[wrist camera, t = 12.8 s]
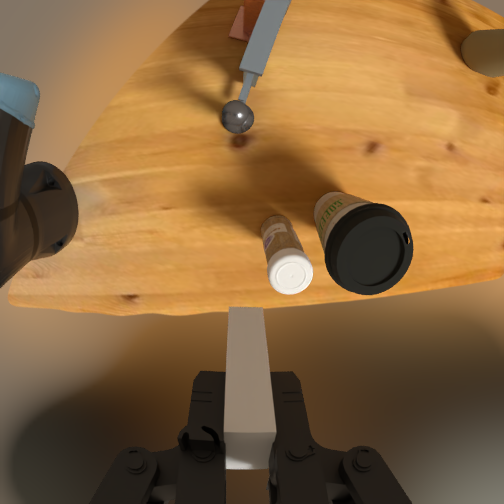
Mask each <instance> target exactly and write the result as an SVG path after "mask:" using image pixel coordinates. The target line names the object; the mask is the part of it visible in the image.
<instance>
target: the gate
mask: <svg viewBox="0 0 504 504" xmlns="http://www.w3.org/2000/svg"><path fill="white" fill-rule="evenodd" d="M290 3H291V0H265V2H264V5H263V7H262V10H261V12H260V15H259V17H258V20H257V22H256V25H255V27H254V30H253V32H252V35H251V37H250V40H249V43H248V45H247V48H246V51H245V53H244V56H243V59H242V61H241V64H240V67H239V70H240V71H244V75H243V87H242V90H241V93H240V96H239V99H238V100H241V102H243V103H245V102H246V99H247V97H248V94H249V91H250V88H251V86H253V87H255V85H256V82H257V79H258V77H259V76H261V77H262V74H263V71H264V69H265V66H266V63H267V60H268V58H269V55H270V52H271V49H272V47H273V44H274V41H275V39H276V36H277V33H278V31H279V28H280V25H281V23H282V20H283V18H284V16H285V14H286V12H287V10H288V7H289V5H290Z"/></svg>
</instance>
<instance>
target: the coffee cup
mask: <svg viewBox="0 0 504 504" xmlns="http://www.w3.org/2000/svg"><path fill="white" fill-rule="evenodd" d="M314 220H315V223H316V228H317V232H318V235H319V238H320V241H321V244H322V247H323V251H324V254H325V263H326V268H327V270H328V272H329V274H330V276H331V277H332V279H333V280H334V281H335V282H336V283H337V284H338V285H340V286H341V287H342V288H344V289H346V290H348V291H350V292H355V293H357V294H361V295H374V294H379V293H381V292H384V291H386V290H388V289H390V288H391V287H393V286H394V285H395V284H397V283H398V282H399V281H400V279H401V278H402V277H403V276H404V274H405V273H406V272H407V270H408V268H409V266H410V263H411V260H412V257H413V240H412V237H411V232H410V229H409V226H408V224H407V222H406V221H405V219H404V218H403V217H402V215H401V214H400V213H399V212H398V211H396V210H395V209H393V208H392V207H390V206H387V205H385V204H378V203H372V202H370V201H367V200H364V199H361V198H359V197H356V196H353V195H350V194H344V193H342V192H330V193H327V194H325V195H323V196H322V197H321V198H320V199H319V200H318V202H317V203H316V205H315V208H314ZM408 237H409V240H410V243H409V244H408Z"/></svg>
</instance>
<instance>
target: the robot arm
mask: <svg viewBox="0 0 504 504" xmlns="http://www.w3.org/2000/svg"><path fill="white" fill-rule="evenodd" d="M39 99H40V91H39V88H38V87H37V85H36V84H35V83H33V82H31V81H28V80H25V79H21V78H18V77H15V76H11V75H7V74H3V73H0V288H1V287H2V286H3V285H4V284H5V283H6V282H7V281H8V280H9V279H11V278H12V277H13V276H14V275H15V274H16V273H17V272H18V271H19V270H20V269H22V268H23V267H24V266H25V265H26V264H27V263H28V262H30V261H32V260H36V259H40V258H45V257H49V256H52V255H55V254H56V253H58V252H59V251H61V250H62V249H63V248H64V247H65V246H67V245H68V244H69V242H70V241H71V240H72V238H73V236H74V234H75V232H76V228H77V224H78V204H77V199H76V195H75V192H74V190H73V187H72V185H71V183H70V182H69V180H68V178H67V177H66V176H65V175H64V173H63V172H62V171H61V170H59V169H58V168H57V167H56V166H54V165H52V164H50V163H47V162H33V163H30V164H27V165H25V160H26V155H27V150H28V146H29V141H30V137H31V133H32V129H34V127H35V124H34V119H35V115H36V111H37V106H38V103H39ZM263 316H264V315H263V308H258V307H229V319H228V339H227V340H228V341H227V360H226V372H213V371H200V372H199V374H198V375H197V376H196V378H195V379H194V382H193V389H192V396H191V403H190V410H189V417H188V425H187V426H185V427H184V428H183V429H182V430H181V431H180V433H179V435H178V442H179V445H178V446H176V447H175V448H173V449H169V450H165V451H158V452H150V451H148V450H146V449H145V448H141V447H129V448H127V449H124V450H122V451H121V452H120V453H119V454H118V455H117V457H116V458H115V460H114V462H113V464H112V465H111V467H110V469H109V470H108V472H107V474H106V475H105V477H104V479H103V481H102V482H101V484H100V486H99V487H98V489H97V491H96V493H95V494H94V496H93V498H92V500H91V501H90V503H89V504H168V502H169V500H174V499H175V504H226V469H268V466H269V474H270V476H269V480H268V484H267V488H266V490H269V498H270V504H412V502H411V501H410V500H409V498H408V496H407V495H406V493H405V492H404V490H403V489H402V487H401V486H400V484H399V483H398V481H397V480H396V478H395V477H394V475H393V473H392V472H391V470H390V469H389V468H388V466H387V465H386V463H385V462H384V460H383V458H382V457H381V455H380V454H379V453H378V452H377V451H376V450H375V449H373V448H370V447H367V446H358V447H354V448H352V449H350V450H349V451H348V452H343V451H337V450H331V449H327V448H324V447H322V446H320V445H319V444H317V443H316V442H315V441H314V439H313V438H312V436H311V433H310V429H309V423H308V418H307V413H306V408H305V404H304V398H303V394H302V389H301V384H300V380H299V379H298V378H297V376H296V375H295V374H294V373H293V372H270V369H269V360H268V351H267V343H266V334H265V324H264V317H263Z"/></svg>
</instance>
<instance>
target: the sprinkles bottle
mask: <svg viewBox="0 0 504 504" xmlns="http://www.w3.org/2000/svg"><path fill="white" fill-rule="evenodd" d="M261 236H262V238H263V245H264V251H265V254H266V259H267V264H268V266H267V273H268V278H269V282H270V284H271V286H272V287H273V288H274V289H275V290H276V291H278V292H280V293H283V294H295V293H299V292H301V291H302V290H304V289H305V288H306V287H307V286H308V285H309V284H310V282H311V280H312V277H313V268H312V265H311V263H310V260H309V258H308V257H307V255H306V254H305V253H304V251H303V247H302V245H301V243H300V241H299V239H298V237H297V235H296V233H295V231H294V229H293V226H292V224H291V222H290V221H289V220H288V219H287V218H286V217H284V216H280V215H277V216H272V217H269V218H268V219H267V220H265V222H264V223H263V225H262V227H261Z"/></svg>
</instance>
